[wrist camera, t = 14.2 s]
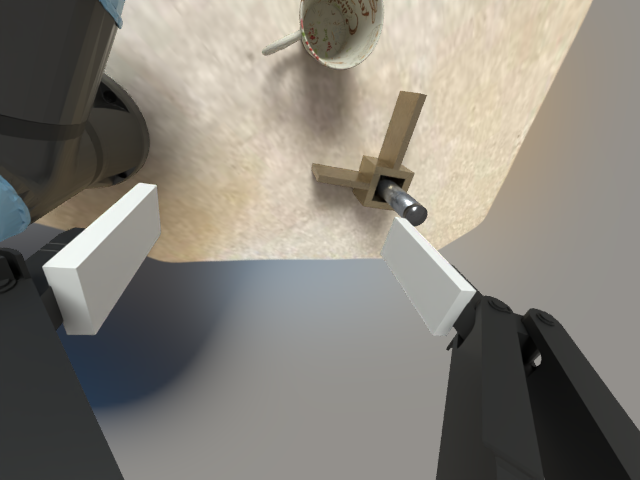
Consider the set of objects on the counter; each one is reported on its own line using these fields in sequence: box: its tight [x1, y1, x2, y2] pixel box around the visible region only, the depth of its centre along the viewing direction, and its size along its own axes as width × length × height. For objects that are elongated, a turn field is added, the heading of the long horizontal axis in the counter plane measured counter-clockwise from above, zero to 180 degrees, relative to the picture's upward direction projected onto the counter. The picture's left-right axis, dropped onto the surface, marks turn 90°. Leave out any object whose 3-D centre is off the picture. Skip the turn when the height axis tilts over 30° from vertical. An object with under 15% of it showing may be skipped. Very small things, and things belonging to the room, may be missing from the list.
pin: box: [376, 175, 427, 226], centre depth 39 cm, size 3×3×15 cm
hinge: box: [312, 91, 427, 211], centre depth 40 cm, size 14×16×6 cm
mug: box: [262, 0, 384, 70], centre depth 30 cm, size 8×13×10 cm, turn 111°
